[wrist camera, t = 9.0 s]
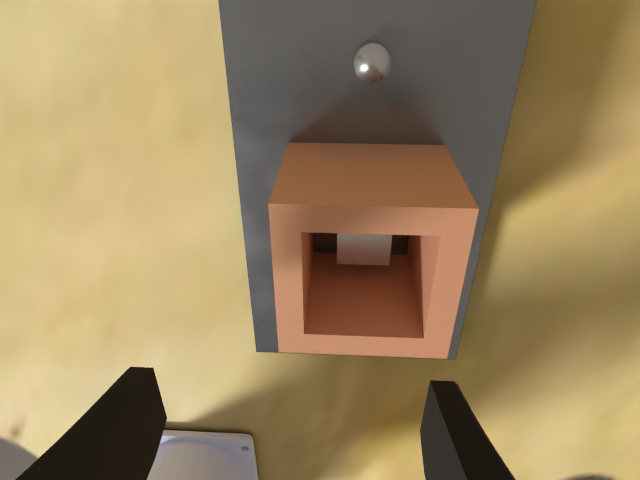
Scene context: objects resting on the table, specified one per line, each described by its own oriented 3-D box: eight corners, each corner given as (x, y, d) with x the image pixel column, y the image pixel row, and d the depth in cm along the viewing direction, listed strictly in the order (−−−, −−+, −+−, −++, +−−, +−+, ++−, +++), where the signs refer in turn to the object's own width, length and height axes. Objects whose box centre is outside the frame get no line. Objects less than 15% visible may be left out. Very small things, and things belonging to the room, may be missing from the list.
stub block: (451, 344, 23) (464, 392, 20) (259, 337, 23) (249, 383, 21) (527, -9, 14) (565, -3, 12) (224, -10, 15) (199, -4, 12)
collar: (425, 272, 19) (447, 358, 15) (293, 268, 20) (278, 352, 15) (445, 145, 16) (478, 208, 12) (288, 142, 17) (268, 203, 12)
